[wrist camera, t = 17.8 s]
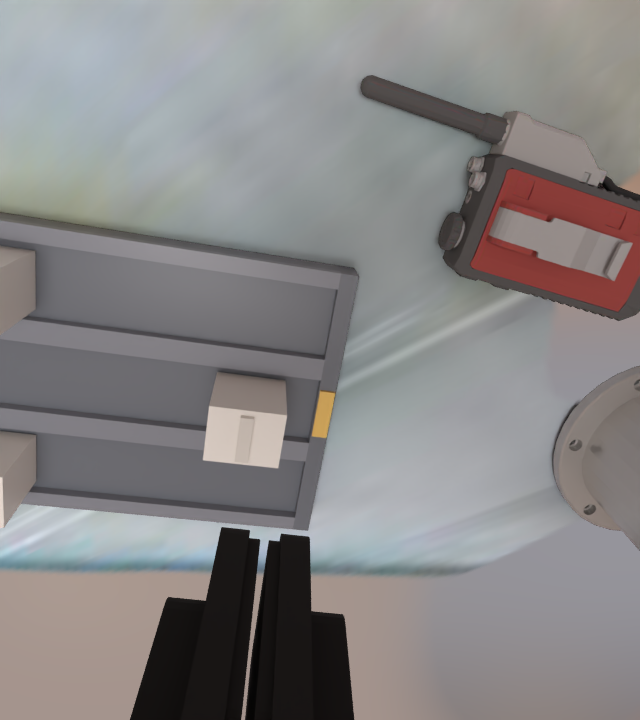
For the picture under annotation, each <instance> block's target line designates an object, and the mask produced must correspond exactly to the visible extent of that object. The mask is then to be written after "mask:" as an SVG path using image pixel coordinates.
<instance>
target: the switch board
mask: <svg viewBox="0 0 640 720" xmlns="http://www.w3.org/2000/svg"><path fill="white" fill-rule="evenodd" d="M0 246H7V247H13V248H20V249H27V250H33V251H35V269H36V309H35V310H34V311H32V312H31V313H30V314H28V315H27V316H26V317H24V318H23V319H21V320H20V321H19V322H17V323H16V324H15V325H13V326H12V327H11V328H9V329H8V330H6V331H5V332H4V333H2V334H1V335H0V431H5V432H14V433H24V434H33V435H36V482H35V483H34V485H33V486H32V488H31V489H30V491H29V492H28V494H27V495H26V496H25V498H24V499H23V501H22V502H21V504H30V505H41V506H52V507H62V508H73V509H84V510H94V511H105V512H115V513H126V514H137V515H147V516H158V517H169V518H179V519H190V520H201V521H211V522H222V523H232V524H243V525H254V526H264V527H275V528H286V529H296V530H307V531H308V528H309V523H310V518H311V513H312V508H313V503H314V498H315V493H316V488H317V483H318V478H319V473H320V469H321V464H322V459H323V454H324V449H325V444H326V439H327V434H328V429H329V424H330V419H331V414H332V409H333V404H334V399H335V394H336V389H337V384H338V379H339V374H340V369H341V364H342V359H343V354H344V349H345V344H346V339H347V334H348V329H349V324H350V319H351V314H352V309H353V304H354V299H355V294H356V289H357V284H358V279H359V276H358V274H357V272H356V271H355V269H354V268H350V267H344V266H337V265H331V264H325V263H318V262H312V261H306V260H299V259H293V258H287V257H280V256H274V255H268V254H261V253H255V252H249V251H242V250H236V249H230V248H223V247H217V246H211V245H204V244H198V243H192V242H185V241H179V240H173V239H166V238H160V237H154V236H147V235H141V234H135V233H128V232H122V231H116V230H109V229H103V228H97V227H90V226H84V225H78V224H71V223H65V222H59V221H52V220H46V219H40V218H33V217H27V216H20V215H14V214H8V213H1V212H0ZM217 372H223V373H230V374H238V375H246V376H254V377H261V378H269V379H277V380H285V381H286V401H287V420H286V425H285V431H284V437H283V443H282V449H281V455H280V461H279V467H278V468H270V467H260V466H251V465H242V464H232V463H223V462H214V461H205V460H203V454H204V446H205V437H206V428H207V420H208V411H209V404H210V400H211V396H212V392H213V387H214V383H215V379H216V375H217Z"/></svg>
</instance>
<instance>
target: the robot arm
mask: <svg viewBox="0 0 640 720" xmlns="http://www.w3.org/2000/svg"><path fill="white" fill-rule="evenodd" d="M553 461H554V475H555V479H556V484H557V486H558V488H559V490H560V492H561V494H562V496H563V498H564V499H565V500H566V501H567V503H568V504H569V505H570V506H571V508H572V509H573V510H574V511H575V512H576V513H577V514H578V515H579V516H580V517H582V518H583V519H585V520H587V521H589V522H591V523H592V524H594V525H596V526H600V527H603V528H606V529H610V530H619V531H623V532H624V533H625V535H626V536H627V537H628V538H629V539H630V540H631V541H632V543H633V544H634V545H635V546H636V547H637V548H638V549H639V550H640V366H637V367H634V368H631V369H629V370H626V371H624V372H621V373H619V374H617V375H615V376H613V377H611V378H610V379H608V380H606V381H605V382H603V383H601V384H600V385H599V386H598V387H596V388H595V389H594V390H593V391H591V392H590V393H589V394H588V395H587V396H585V397H584V399H583V400H582V401H581V402H580V403H579V404H578V405H577V406H576V407H575V408H574V410H573V411H572V412H571V414H570V416H569V417H568V419H567V420H566V422H565V423H564V425H563V427H562V430H561V432H560V434H559V437H558V439H557V442H556V447H555V452H554V456H553ZM249 533H250V530H243V529H234V528H224V527H222V528H221V532H220V536H219V541H218V546H217V551H216V555H215V560H214V565H213V570H212V574H211V580H210V584H209V589H208V593H207V598H206V601H201V600H192V599H181V598H172V597H168V598H167V600H166V602H165V606H164V608H163V612H162V615H161V618H160V622H159V625H158V628H157V632H156V635H155V638H154V642H153V645H152V648H151V651H150V655H149V658H148V661H147V665H146V668H145V672H144V675H143V678H142V682H141V685H140V688H139V691H138V695H137V698H136V702H135V705H134V708H133V712H132V715H131V718H130V720H241V715H242V707H243V697H244V687H245V678H246V669H247V668H246V667H247V659H248V650H249V640H250V631H251V622H252V611H253V602H254V593H255V584H256V574H257V565H258V555H259V546H260V539H252V538H249ZM245 720H354V713H353V701H352V691H351V680H350V669H349V658H348V647H347V638H346V626H345V619H344V616H343V614H333V613H323V612H313V611H311V574H310V538H309V537H306V536H297V535H288V534H281V536H280V542H279V541H270V540H269V544H268V550H267V557H266V563H265V570H264V576H263V583H262V590H261V596H260V603H259V610H258V616H257V623H256V629H255V636H254V643H253V649H252V657H251V666H250V677H249V686H248V696H247V706H246V716H245Z"/></svg>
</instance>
